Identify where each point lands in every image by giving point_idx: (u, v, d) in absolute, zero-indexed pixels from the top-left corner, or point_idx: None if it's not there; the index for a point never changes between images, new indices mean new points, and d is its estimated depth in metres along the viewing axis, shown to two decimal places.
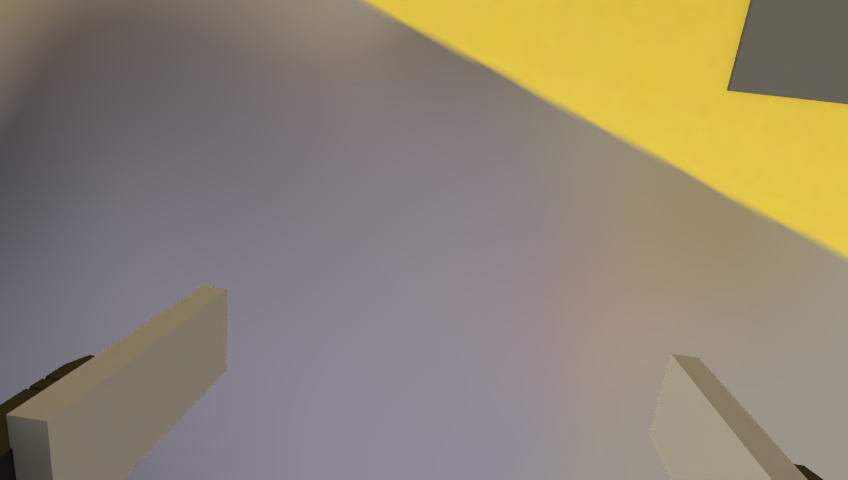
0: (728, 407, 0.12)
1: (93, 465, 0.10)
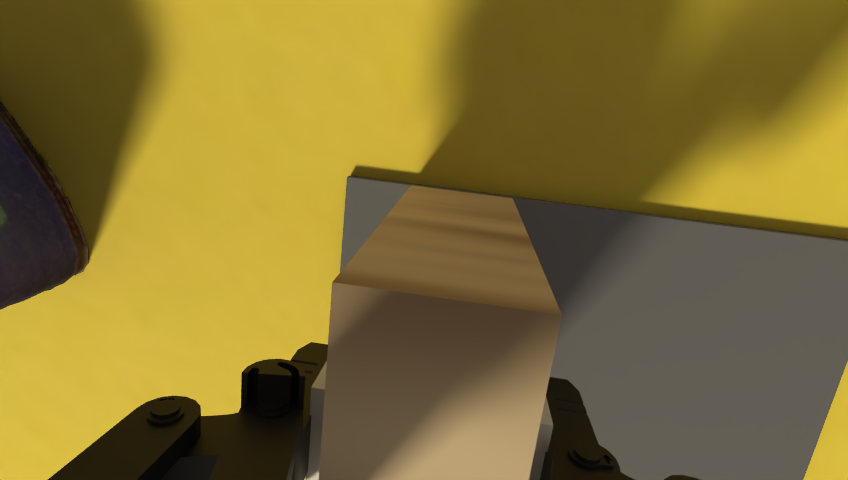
0: None
1: None
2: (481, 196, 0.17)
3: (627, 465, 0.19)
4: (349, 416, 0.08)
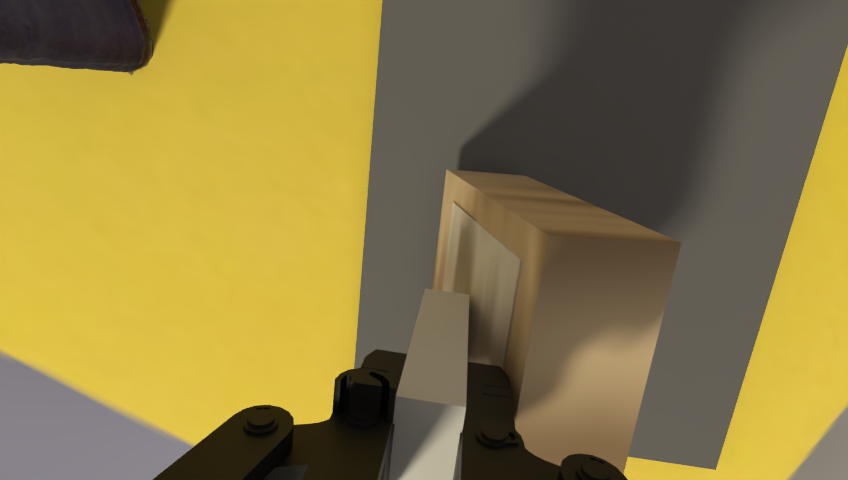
0: (455, 324, 0.14)
1: None
2: (504, 175, 0.21)
3: None
4: (549, 327, 0.12)
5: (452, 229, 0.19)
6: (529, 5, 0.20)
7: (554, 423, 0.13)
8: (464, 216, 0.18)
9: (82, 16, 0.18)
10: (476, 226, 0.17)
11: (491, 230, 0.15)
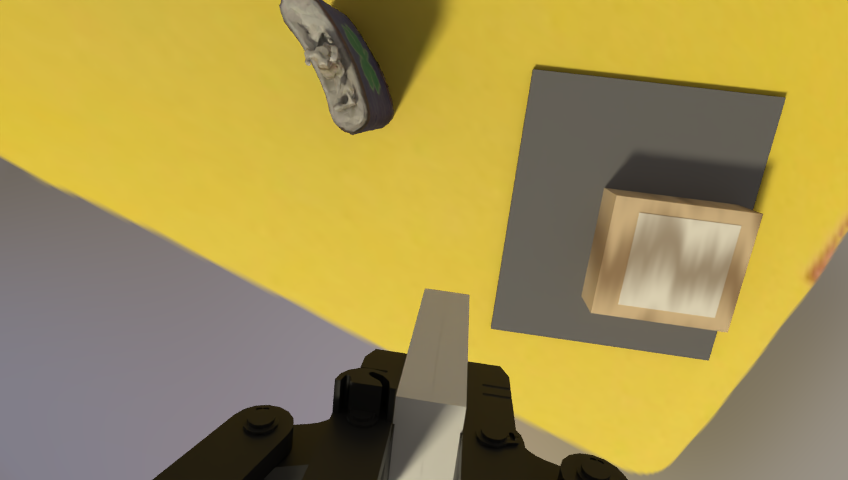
0: (455, 324, 0.14)
1: None
2: (613, 190, 0.38)
3: None
4: None
5: (642, 227, 0.36)
6: (609, 97, 0.37)
7: None
8: (663, 218, 0.35)
9: (382, 104, 0.36)
10: (684, 220, 0.35)
11: (705, 219, 0.35)
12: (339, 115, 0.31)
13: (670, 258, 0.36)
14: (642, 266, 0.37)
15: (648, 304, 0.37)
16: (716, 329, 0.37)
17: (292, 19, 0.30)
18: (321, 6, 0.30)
